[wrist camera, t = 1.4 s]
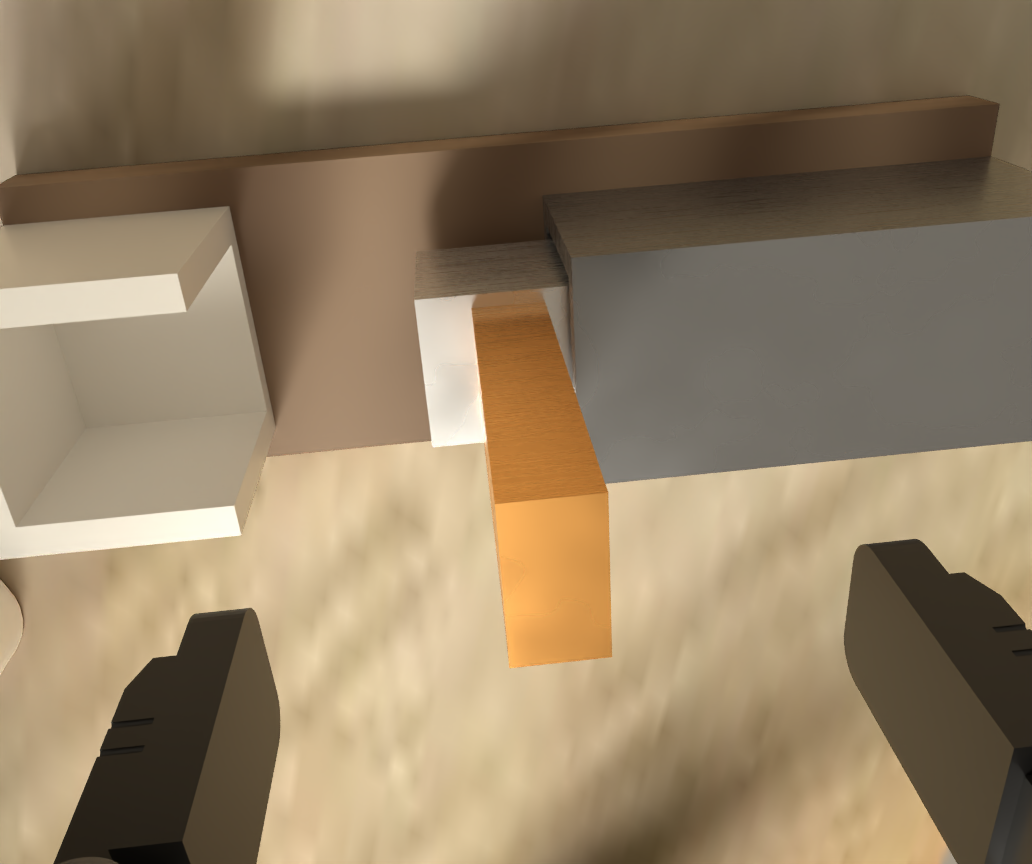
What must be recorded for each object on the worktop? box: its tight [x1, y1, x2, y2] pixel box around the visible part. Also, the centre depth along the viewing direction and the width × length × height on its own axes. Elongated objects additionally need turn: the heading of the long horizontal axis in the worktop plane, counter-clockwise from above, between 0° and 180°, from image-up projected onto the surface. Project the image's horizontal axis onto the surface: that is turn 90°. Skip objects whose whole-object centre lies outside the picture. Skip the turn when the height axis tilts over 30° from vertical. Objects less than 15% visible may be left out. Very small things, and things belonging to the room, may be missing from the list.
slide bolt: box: [414, 239, 612, 668], centre depth 19 cm, size 14×4×12 cm, turn 94°
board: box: [0, 96, 999, 457], centre depth 25 cm, size 25×8×2 cm, turn 94°
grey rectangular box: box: [542, 156, 1032, 484], centre depth 23 cm, size 12×5×5 cm, turn 94°
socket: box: [0, 206, 276, 560], centre depth 22 cm, size 6×6×5 cm
